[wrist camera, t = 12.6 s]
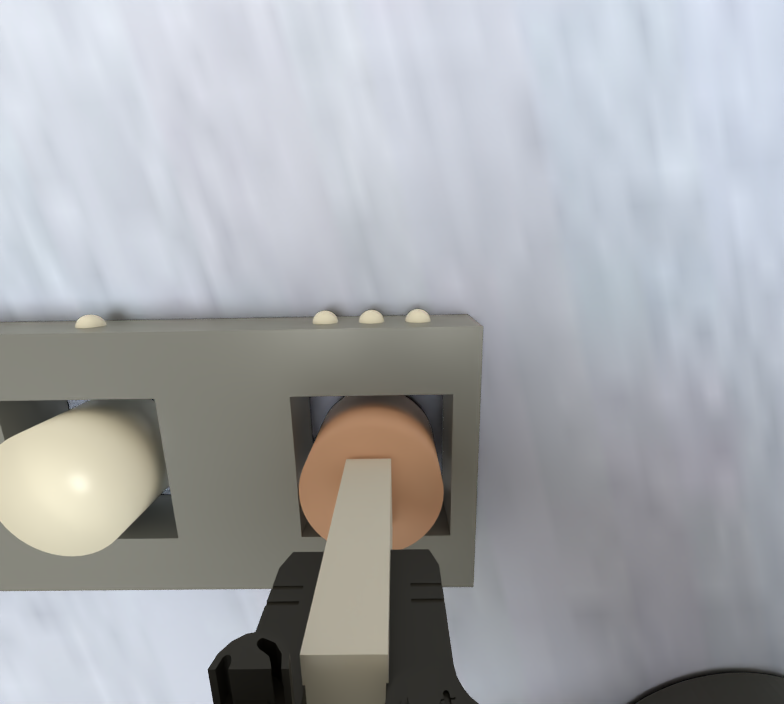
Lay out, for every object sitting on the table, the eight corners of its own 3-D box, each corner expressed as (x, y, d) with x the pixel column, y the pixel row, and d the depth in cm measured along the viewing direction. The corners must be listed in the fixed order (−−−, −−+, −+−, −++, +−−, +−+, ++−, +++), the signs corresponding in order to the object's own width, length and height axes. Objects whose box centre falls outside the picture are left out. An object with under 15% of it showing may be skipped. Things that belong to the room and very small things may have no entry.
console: (467, 303, 16) (483, 313, 14) (461, 536, 19) (473, 586, 16) (-229, 315, 17) (-361, 327, 14) (-140, 543, 19) (-233, 593, 17)
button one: (177, 391, 17) (115, 428, 13) (192, 494, 18) (140, 555, 14) (61, 392, 17) (-33, 430, 13) (85, 495, 18) (4, 557, 14)
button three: (433, 387, 16) (444, 425, 13) (432, 492, 18) (442, 554, 14) (316, 389, 17) (293, 427, 13) (322, 493, 18) (304, 555, 14)
